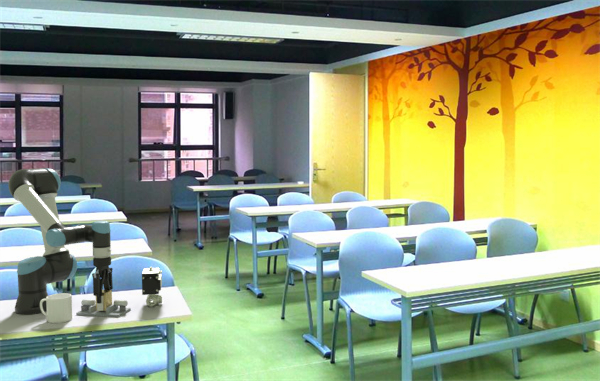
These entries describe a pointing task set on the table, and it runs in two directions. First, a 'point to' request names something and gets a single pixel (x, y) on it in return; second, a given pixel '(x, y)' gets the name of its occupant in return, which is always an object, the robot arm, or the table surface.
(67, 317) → the mug
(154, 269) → the ball valve
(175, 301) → the table surface
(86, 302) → the shaft rig
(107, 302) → the coupling block
